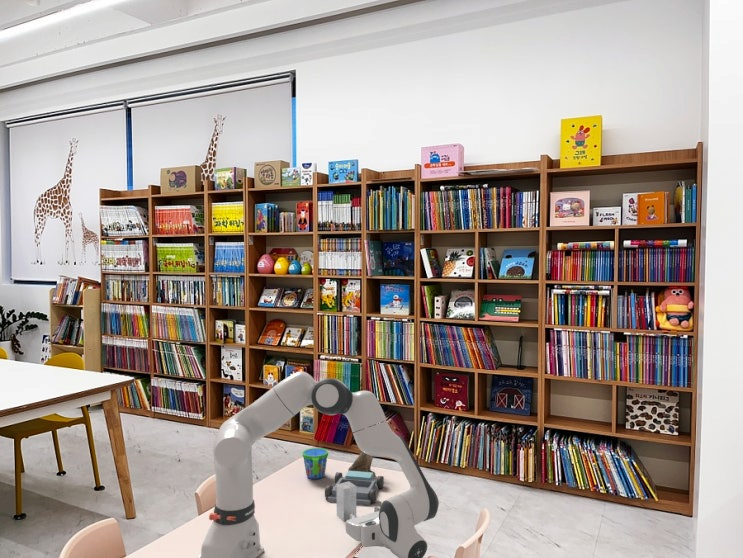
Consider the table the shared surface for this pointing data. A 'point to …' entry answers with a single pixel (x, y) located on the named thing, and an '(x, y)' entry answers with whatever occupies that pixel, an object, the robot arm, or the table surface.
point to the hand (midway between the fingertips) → (363, 512)
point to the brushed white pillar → (346, 500)
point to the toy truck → (357, 486)
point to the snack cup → (315, 462)
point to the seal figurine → (362, 463)
